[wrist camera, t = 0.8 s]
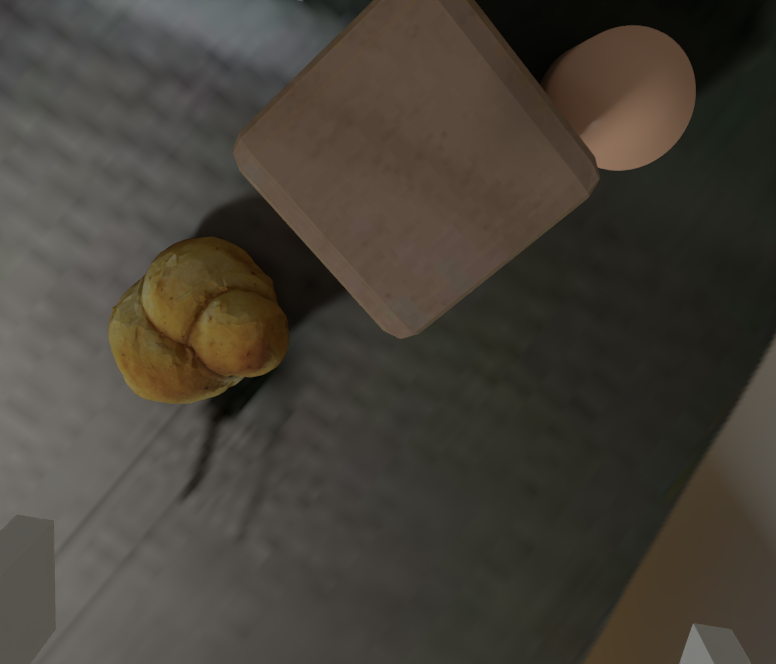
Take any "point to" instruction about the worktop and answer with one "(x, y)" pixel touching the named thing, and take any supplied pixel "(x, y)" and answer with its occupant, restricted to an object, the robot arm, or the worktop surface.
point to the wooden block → (416, 158)
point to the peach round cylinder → (624, 94)
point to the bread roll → (197, 323)
